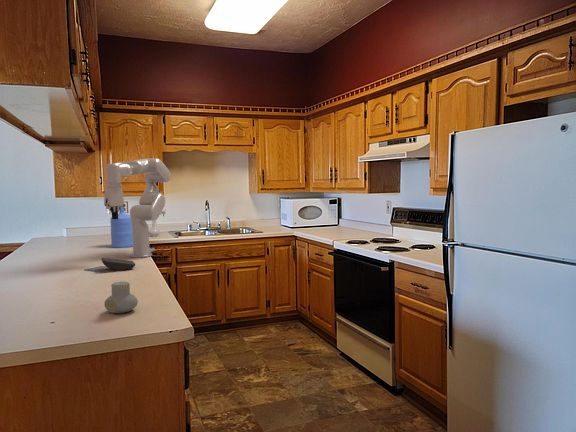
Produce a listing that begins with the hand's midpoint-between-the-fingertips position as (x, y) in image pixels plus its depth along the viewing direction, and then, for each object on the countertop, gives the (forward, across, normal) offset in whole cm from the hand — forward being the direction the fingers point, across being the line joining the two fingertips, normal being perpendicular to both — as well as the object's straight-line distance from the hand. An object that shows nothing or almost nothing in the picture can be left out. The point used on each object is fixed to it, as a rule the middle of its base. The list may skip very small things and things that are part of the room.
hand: (115, 218), depth 244 cm
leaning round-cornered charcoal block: (+21, +9, +11) cm, 26 cm away
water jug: (+25, -50, -51) cm, 76 cm away
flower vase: (+25, -107, -76) cm, 134 cm away
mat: (+25, +16, +8) cm, 31 cm away
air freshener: (+25, +65, +77) cm, 104 cm away
